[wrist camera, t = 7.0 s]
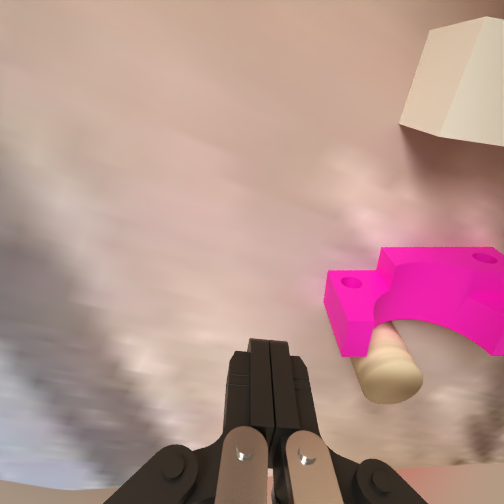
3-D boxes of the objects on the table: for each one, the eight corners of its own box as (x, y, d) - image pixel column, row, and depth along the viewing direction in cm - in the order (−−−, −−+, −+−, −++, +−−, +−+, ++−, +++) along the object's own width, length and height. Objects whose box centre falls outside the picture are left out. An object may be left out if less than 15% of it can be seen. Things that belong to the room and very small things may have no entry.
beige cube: (429, 30, 22) (486, 16, 17) (511, 44, 23) (591, 35, 17) (398, 123, 25) (438, 136, 20) (471, 134, 25) (530, 150, 20)
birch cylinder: (346, 299, 33) (373, 360, 26) (393, 305, 33) (433, 367, 26) (333, 335, 35) (354, 401, 28) (377, 341, 36) (408, 406, 29)
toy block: (490, 245, 30) (558, 293, 24) (469, 300, 33) (523, 355, 27) (330, 246, 30) (353, 294, 24) (323, 300, 33) (341, 356, 27)
